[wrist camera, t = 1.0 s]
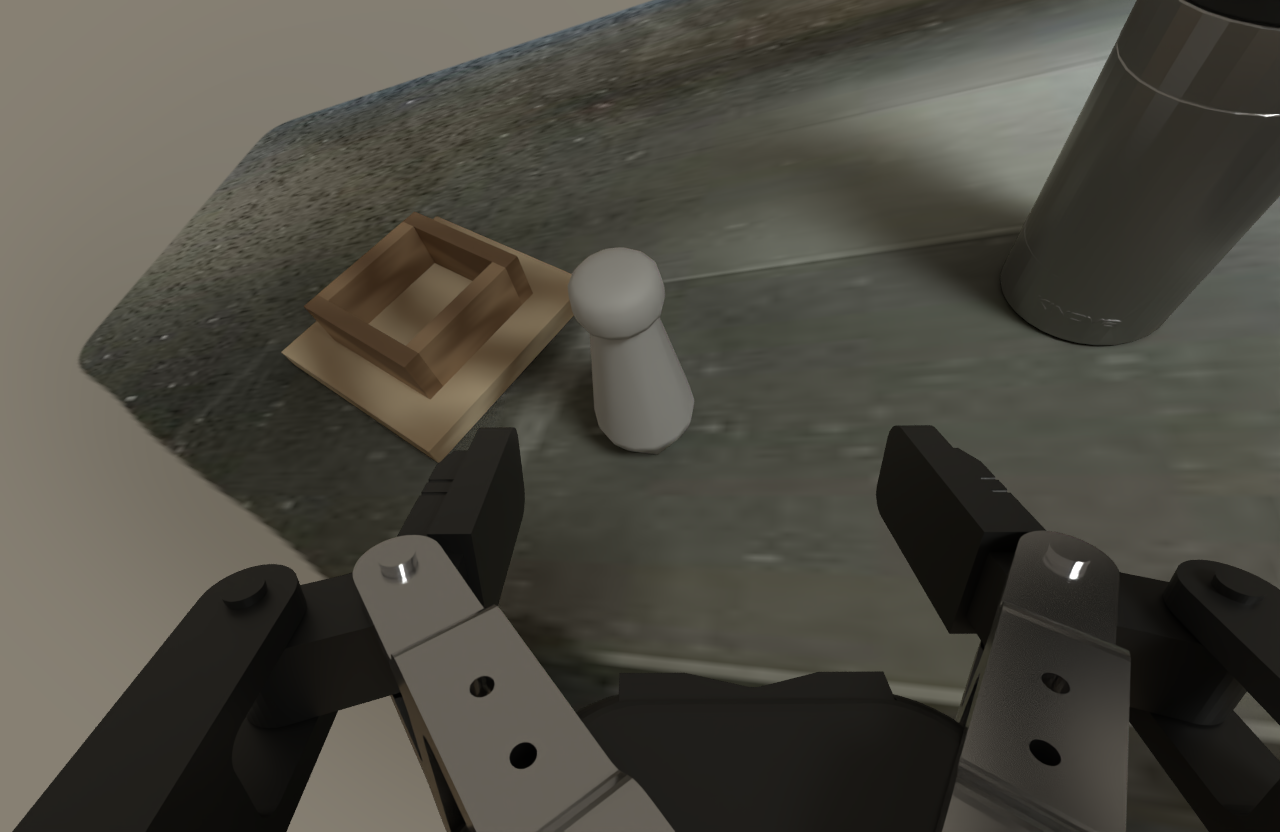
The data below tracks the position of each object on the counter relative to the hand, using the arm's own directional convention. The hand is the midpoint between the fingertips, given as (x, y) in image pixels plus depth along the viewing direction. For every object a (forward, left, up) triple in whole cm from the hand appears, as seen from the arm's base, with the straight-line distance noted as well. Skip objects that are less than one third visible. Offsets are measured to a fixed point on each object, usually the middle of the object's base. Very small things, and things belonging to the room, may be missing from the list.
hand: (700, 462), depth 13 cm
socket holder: (-7, -28, -19) cm, 35 cm away
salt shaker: (-8, -10, -19) cm, 24 cm away
